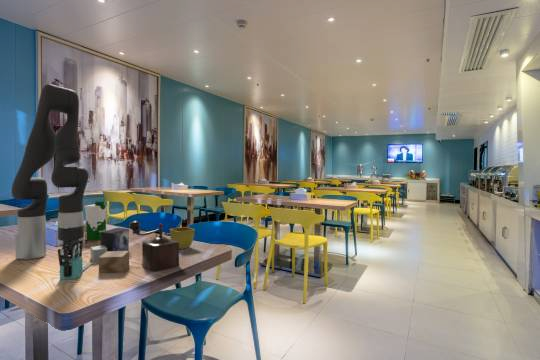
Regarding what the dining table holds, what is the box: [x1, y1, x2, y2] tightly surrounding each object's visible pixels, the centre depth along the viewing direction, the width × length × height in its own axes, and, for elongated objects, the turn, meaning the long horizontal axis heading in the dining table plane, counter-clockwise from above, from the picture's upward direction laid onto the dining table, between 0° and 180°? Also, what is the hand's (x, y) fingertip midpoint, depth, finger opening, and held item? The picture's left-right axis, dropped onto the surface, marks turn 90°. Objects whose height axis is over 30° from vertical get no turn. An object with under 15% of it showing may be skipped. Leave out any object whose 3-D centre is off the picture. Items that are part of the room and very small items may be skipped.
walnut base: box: [98, 250, 130, 275], centre depth 112 cm, size 8×8×6 cm
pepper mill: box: [128, 220, 180, 273], centre depth 115 cm, size 16×11×18 cm
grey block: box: [90, 245, 107, 263], centre depth 124 cm, size 5×5×6 cm
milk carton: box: [83, 200, 108, 241], centre depth 160 cm, size 9×9×20 cm
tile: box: [58, 263, 93, 273], centre depth 113 cm, size 8×8×1 cm
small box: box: [100, 227, 130, 252], centre depth 133 cm, size 11×6×10 cm, turn 168°
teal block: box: [59, 256, 83, 280], centre depth 104 cm, size 5×5×6 cm
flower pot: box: [169, 226, 196, 250], centre depth 144 cm, size 9×9×9 cm
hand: (71, 273), depth 105 cm, fingers closed on teal block, 5 cm apart
